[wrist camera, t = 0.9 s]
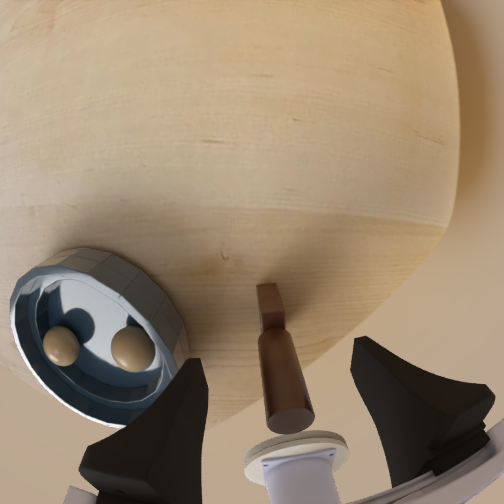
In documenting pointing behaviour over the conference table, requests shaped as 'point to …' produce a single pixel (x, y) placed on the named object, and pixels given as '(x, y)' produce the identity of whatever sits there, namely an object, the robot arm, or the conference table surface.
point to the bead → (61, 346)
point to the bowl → (97, 332)
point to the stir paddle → (280, 368)
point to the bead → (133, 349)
